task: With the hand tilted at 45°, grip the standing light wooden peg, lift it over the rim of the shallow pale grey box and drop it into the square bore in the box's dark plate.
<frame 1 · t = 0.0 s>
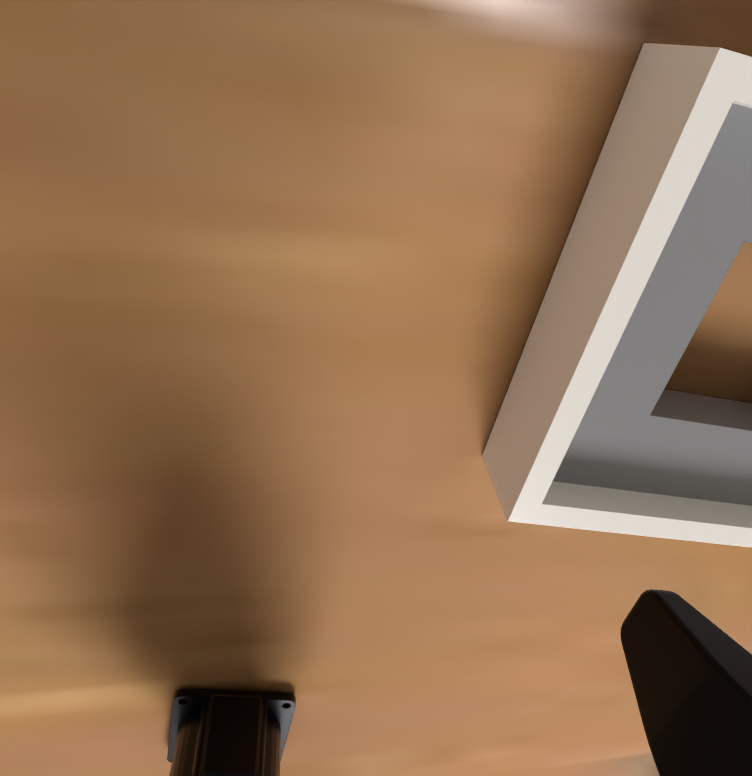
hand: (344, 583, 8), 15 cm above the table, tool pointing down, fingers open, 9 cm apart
bore box: (732, 321, 24), on the table
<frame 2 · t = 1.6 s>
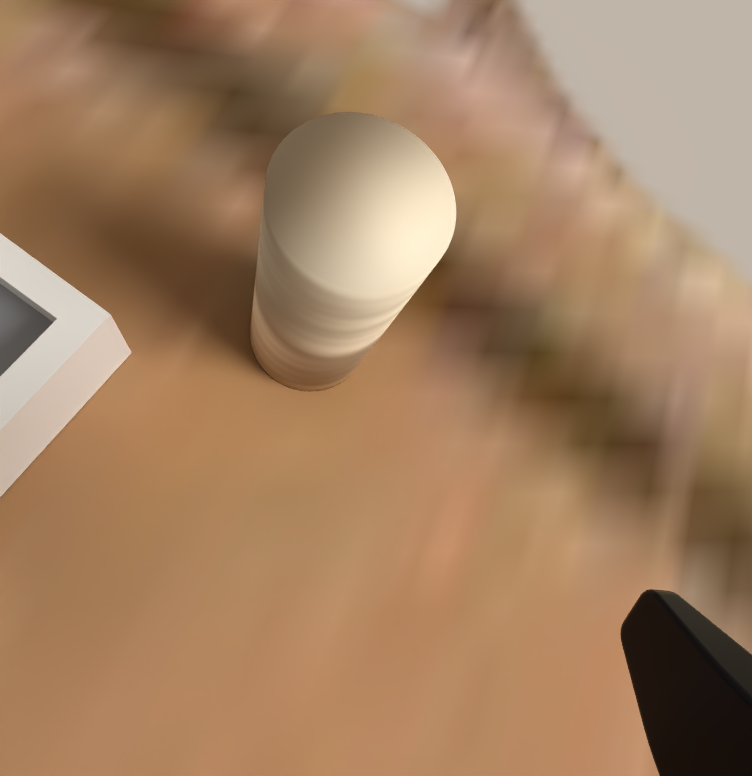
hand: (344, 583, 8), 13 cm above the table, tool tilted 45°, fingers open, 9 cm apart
peg: (308, 335, 23), on the table
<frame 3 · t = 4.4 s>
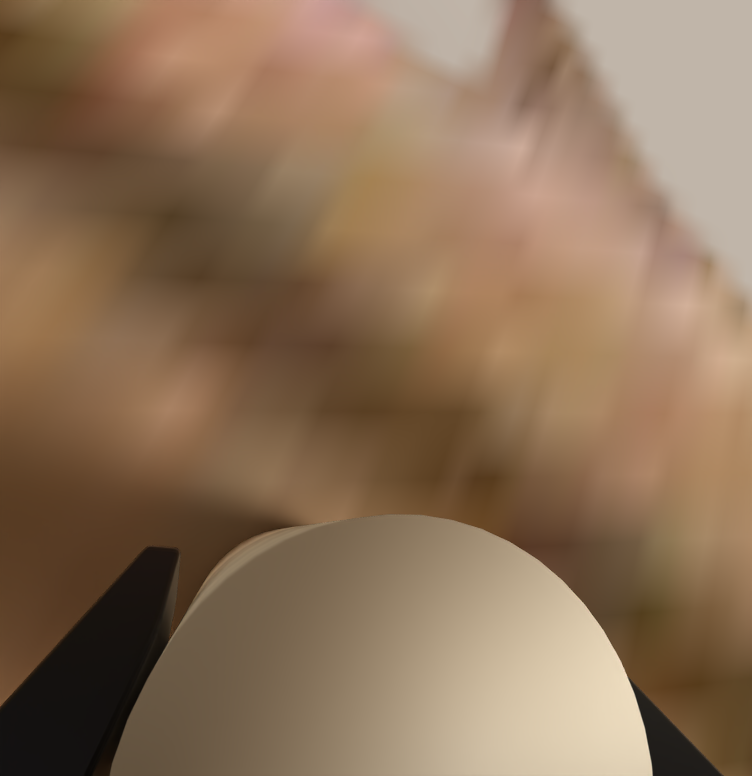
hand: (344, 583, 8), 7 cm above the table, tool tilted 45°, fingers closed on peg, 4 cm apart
peg: (288, 624, 14), on the table, touching gripper
when the fingers open (8 cm above the table, at t = 9.0 s): peg drops 2 cm, resting in bore box.
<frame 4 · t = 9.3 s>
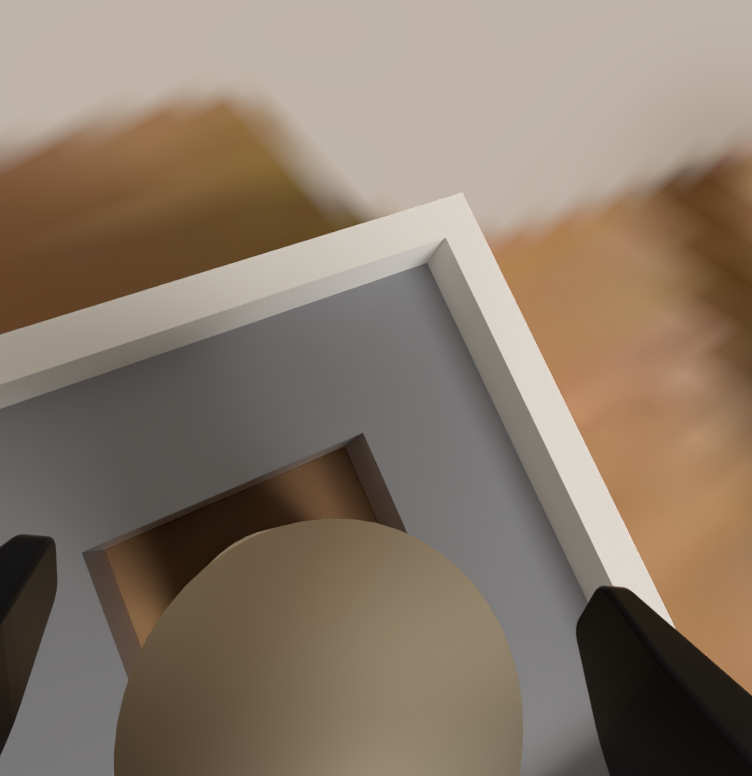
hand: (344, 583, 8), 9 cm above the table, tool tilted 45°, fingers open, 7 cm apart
bore box: (280, 614, 16), on the table
peg: (277, 614, 16), resting in bore box
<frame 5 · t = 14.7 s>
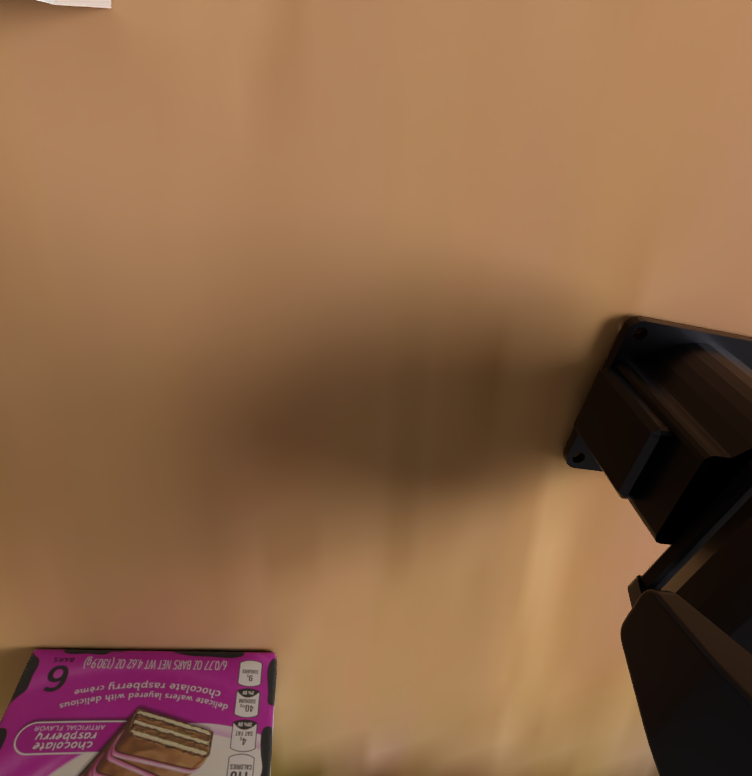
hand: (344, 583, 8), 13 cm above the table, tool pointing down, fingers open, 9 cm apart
candy bar box: (159, 671, 29), on the table
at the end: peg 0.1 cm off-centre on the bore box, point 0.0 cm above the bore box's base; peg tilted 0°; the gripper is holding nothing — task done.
